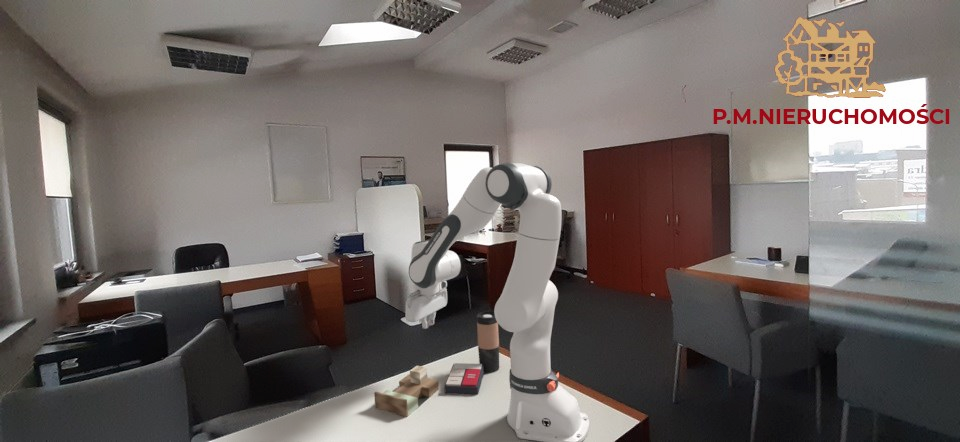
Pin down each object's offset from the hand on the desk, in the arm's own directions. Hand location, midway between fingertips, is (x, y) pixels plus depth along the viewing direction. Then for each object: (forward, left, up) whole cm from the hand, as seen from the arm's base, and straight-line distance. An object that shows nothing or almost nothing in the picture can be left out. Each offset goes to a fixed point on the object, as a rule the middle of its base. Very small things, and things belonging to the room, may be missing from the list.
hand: (428, 326), depth 134 cm
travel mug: (-15, -16, -19) cm, 29 cm away
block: (0, +7, -16) cm, 18 cm away
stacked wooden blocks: (0, +12, -19) cm, 23 cm away
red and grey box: (-12, -3, -20) cm, 23 cm away
